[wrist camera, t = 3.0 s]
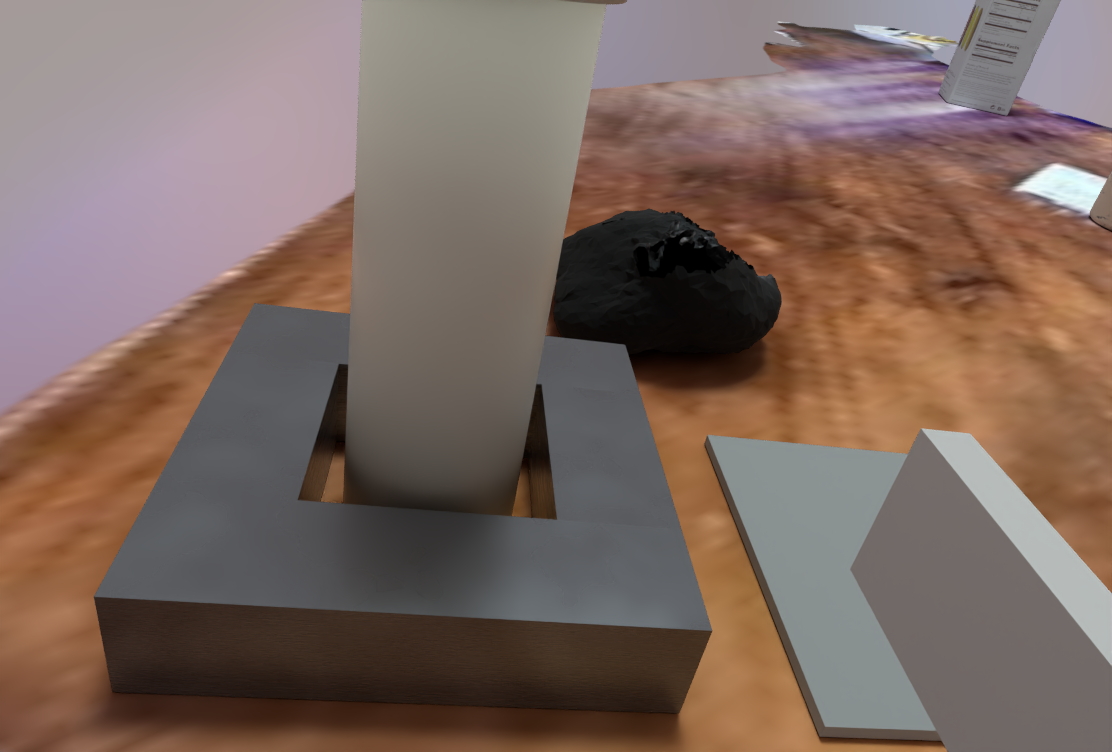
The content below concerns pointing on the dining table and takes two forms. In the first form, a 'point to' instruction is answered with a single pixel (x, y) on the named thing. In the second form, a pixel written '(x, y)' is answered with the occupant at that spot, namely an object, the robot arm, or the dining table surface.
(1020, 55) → the supplement box
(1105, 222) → the teacup with lid
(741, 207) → the dining table surface
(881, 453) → the mat
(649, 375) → the dining table surface
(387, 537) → the housing
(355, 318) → the cream upright pillar
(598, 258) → the rock
